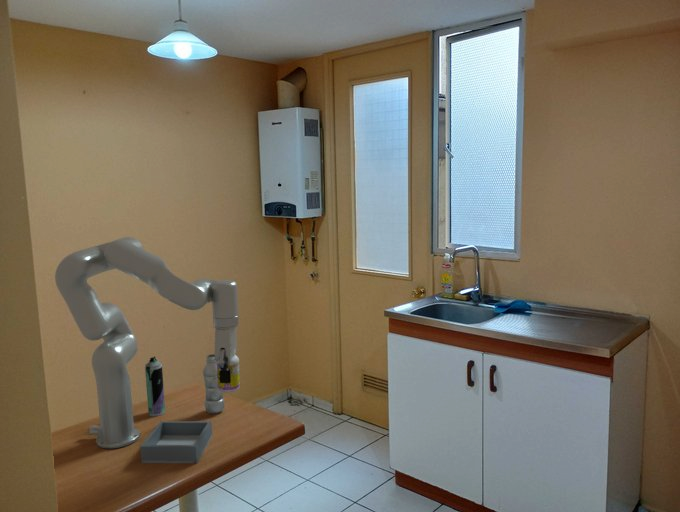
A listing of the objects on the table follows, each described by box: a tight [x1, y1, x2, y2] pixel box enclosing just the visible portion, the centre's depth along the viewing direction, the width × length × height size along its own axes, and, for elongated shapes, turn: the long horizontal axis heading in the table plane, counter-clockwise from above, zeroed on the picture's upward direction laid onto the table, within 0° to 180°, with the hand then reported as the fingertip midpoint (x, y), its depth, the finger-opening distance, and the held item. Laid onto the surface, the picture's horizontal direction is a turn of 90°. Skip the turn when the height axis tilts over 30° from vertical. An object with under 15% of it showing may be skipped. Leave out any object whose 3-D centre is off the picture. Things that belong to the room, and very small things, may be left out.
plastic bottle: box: [202, 353, 226, 414], centre depth 189 cm, size 6×7×20 cm
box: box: [139, 420, 213, 464], centre depth 165 cm, size 16×16×5 cm
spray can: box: [144, 356, 166, 417], centre depth 189 cm, size 6×6×20 cm
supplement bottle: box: [217, 349, 241, 394], centre depth 169 cm, size 7×7×13 cm
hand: (228, 377), depth 169 cm, fingers closed on supplement bottle, 6 cm apart
